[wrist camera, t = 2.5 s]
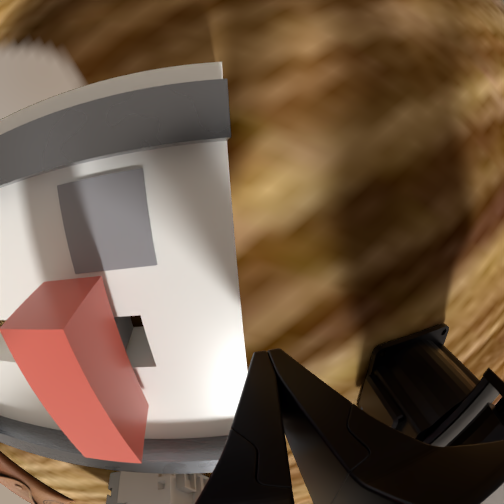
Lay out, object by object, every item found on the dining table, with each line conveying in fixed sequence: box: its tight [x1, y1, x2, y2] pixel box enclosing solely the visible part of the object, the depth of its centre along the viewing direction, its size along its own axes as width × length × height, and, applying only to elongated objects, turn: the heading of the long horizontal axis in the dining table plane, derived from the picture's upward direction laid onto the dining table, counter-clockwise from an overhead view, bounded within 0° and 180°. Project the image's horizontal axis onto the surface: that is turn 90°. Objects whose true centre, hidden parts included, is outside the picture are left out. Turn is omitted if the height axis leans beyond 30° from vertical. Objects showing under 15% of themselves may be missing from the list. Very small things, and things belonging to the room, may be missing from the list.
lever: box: [0, 276, 149, 463], centre depth 9 cm, size 2×6×6 cm, turn 3°
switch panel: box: [0, 62, 247, 439], centre depth 10 cm, size 20×18×3 cm
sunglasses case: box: [0, 452, 75, 504], centre depth 17 cm, size 18×7×7 cm
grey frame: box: [0, 79, 231, 474], centre depth 8 cm, size 20×16×2 cm
